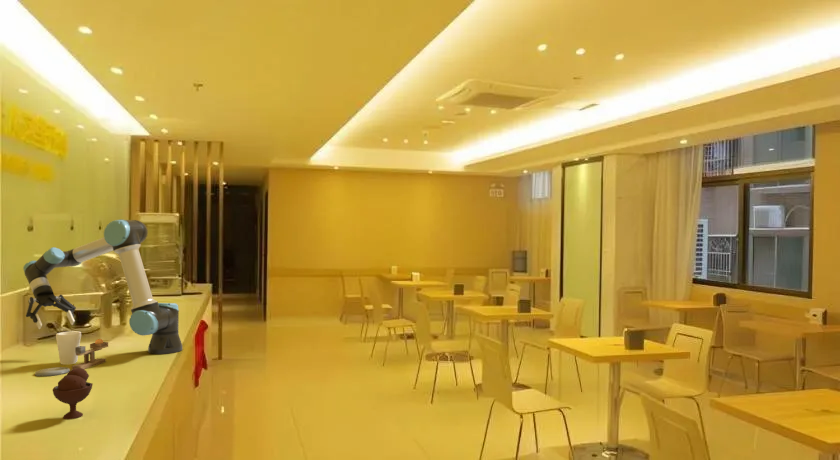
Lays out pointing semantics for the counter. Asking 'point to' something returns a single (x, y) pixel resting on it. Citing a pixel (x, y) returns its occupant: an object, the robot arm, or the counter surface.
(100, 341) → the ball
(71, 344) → the foam cup
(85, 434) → the counter surface
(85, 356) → the catapult
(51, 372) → the coaster
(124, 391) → the counter surface
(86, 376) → the ice cream bowl
